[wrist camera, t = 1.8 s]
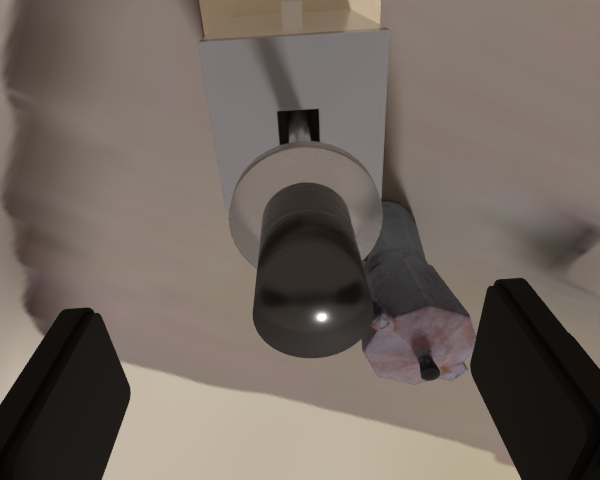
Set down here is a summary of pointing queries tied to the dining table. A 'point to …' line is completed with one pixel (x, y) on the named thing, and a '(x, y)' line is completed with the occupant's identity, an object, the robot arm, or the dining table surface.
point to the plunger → (307, 240)
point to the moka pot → (412, 309)
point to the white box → (294, 77)
